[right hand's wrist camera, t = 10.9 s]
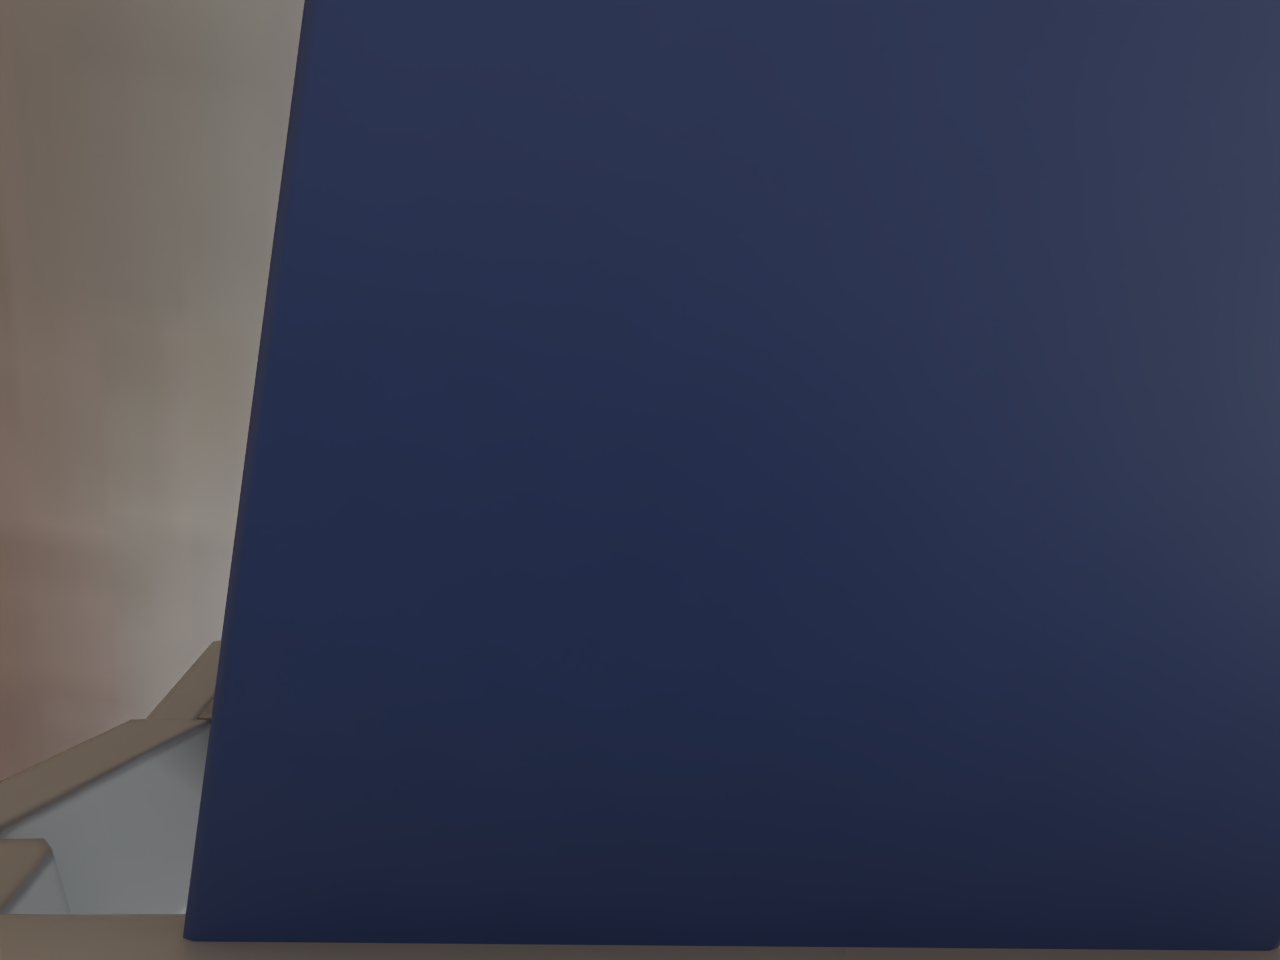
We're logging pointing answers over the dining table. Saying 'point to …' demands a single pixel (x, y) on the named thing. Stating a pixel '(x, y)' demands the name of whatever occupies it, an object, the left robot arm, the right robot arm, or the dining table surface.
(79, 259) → the dining table surface
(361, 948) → the right robot arm
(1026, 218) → the box
